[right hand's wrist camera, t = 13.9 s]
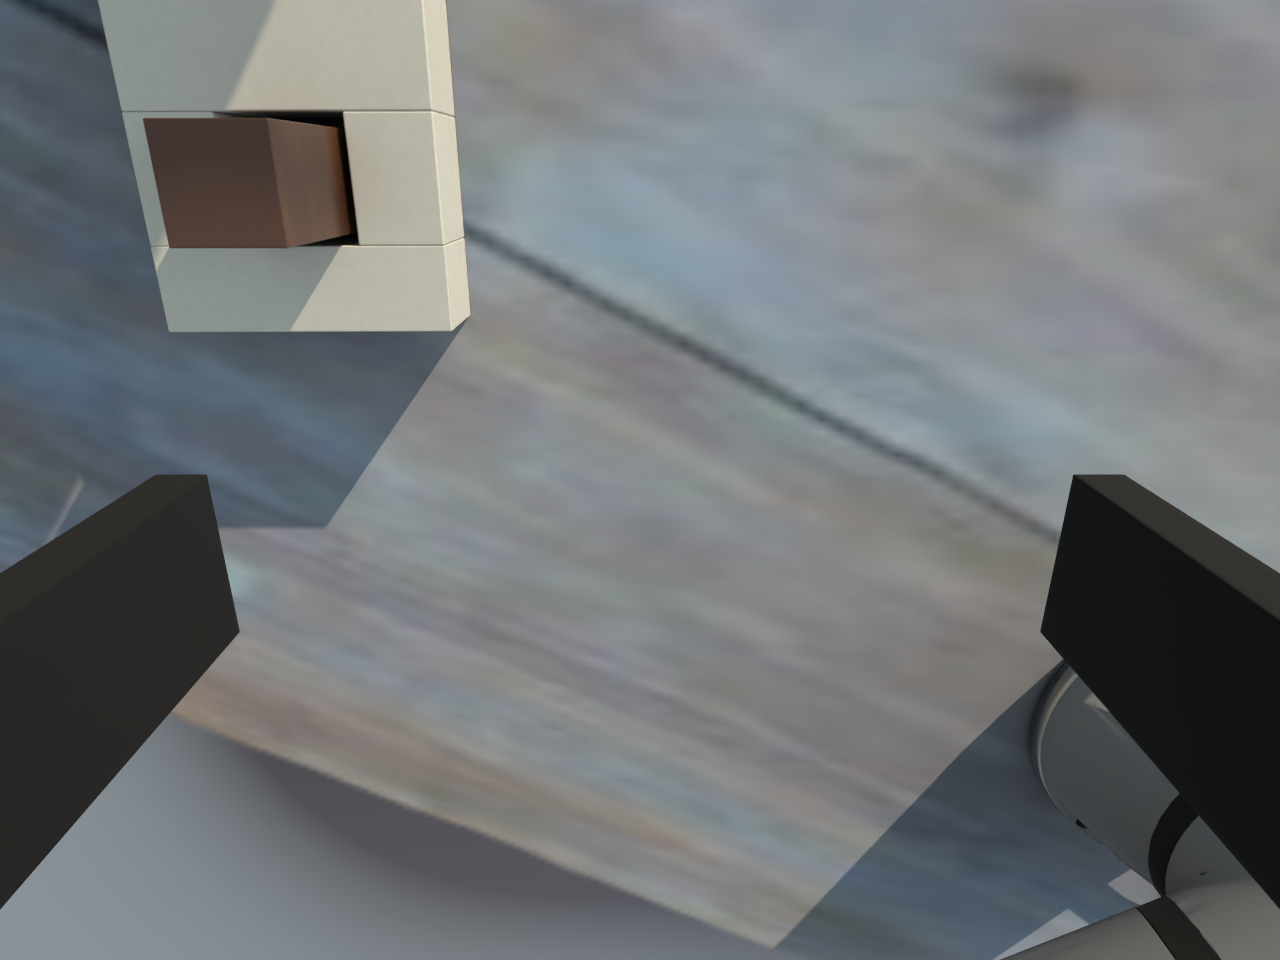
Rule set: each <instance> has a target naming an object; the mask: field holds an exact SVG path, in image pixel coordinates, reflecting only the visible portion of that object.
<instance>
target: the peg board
mask: <svg viewBox="0 0 1280 960" xmlns="http://www.w3.org/2000/svg"><path fill="white" fill-rule="evenodd" d="M98 4H99V8H100V13H101V18H102V22H103V27H104V31H105V36H106V41H107V45H108V50H109V55H110V59H111V64H112V69H113V73H114V78H115V82H116V87H117V92H118V96H119V101H120V106H121V110H122V111H124V112H122V115H123V120H124V125H125V129H126V134H127V139H128V143H129V148H130V152H131V157H132V162H133V166H134V171H135V176H136V180H137V185H138V190H139V194H140V199H141V203H142V208H143V213H144V217H145V222H146V227H147V231H148V236H149V240H150V245H151V246H152V247H151V251H152V255H153V260H154V265H155V269H156V274H157V278H158V283H159V288H160V292H161V297H162V302H163V306H164V311H165V315H166V320H167V325H168V329H169V332H406V331H452V330H454V329H455V328H456V327H457V326H458V325H459V324H461V323H462V322H463V321H464V320H465V319H466V318H467V317H469V316H470V304H469V292H468V279H467V266H466V253H465V241H464V238H463V237H464V230H463V217H462V205H461V192H460V179H459V167H458V154H457V141H456V128H455V119H454V117H453V116H454V103H453V90H452V77H451V65H450V52H449V39H448V27H447V14H446V1H445V0H98ZM256 117H343V120H344V128H345V136H346V144H347V152H348V160H349V168H350V176H351V184H352V192H353V200H354V208H355V216H356V224H357V232H358V238H331V239H326V240H322V241H317V242H313V243H308V244H304V245H300V246H295V247H291V248H169V244H168V240H167V235H166V230H165V225H164V220H163V215H162V210H161V205H160V201H159V196H158V191H157V186H156V181H155V176H154V171H153V167H152V162H151V157H150V152H149V147H148V142H147V137H146V132H145V128H144V123H143V118H256Z"/></svg>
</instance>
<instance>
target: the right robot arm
mask: <svg viewBox="0 0 1280 960" xmlns="http://www.w3.org/2000/svg"><path fill="white" fill-rule="evenodd" d="M239 632H240V631H239V626H238V621H237V617H236V612H235V607H234V602H233V598H232V593H231V588H230V583H229V579H228V574H227V569H226V564H225V560H224V555H223V550H222V545H221V541H220V536H219V531H218V526H217V522H216V517H215V512H214V507H213V503H212V498H211V493H210V488H209V484H208V479H207V475H155V476H153V477H152V478H150V479H148V480H147V481H145V482H144V483H142V484H141V485H139V486H137V487H136V488H134V489H133V490H131V491H129V492H128V493H126V494H125V495H123V496H122V497H120V498H118V499H117V500H115V501H114V502H112V503H111V504H109V505H107V506H106V507H104V508H103V509H101V510H100V511H98V512H96V513H95V514H93V515H92V516H90V517H89V518H87V519H85V520H84V521H82V522H81V523H79V524H77V525H76V526H74V527H73V528H71V529H70V530H68V531H66V532H65V533H63V534H62V535H60V536H59V537H57V538H55V539H54V540H52V541H51V542H49V543H48V544H46V545H44V546H43V547H41V548H40V549H38V550H36V551H35V552H33V553H32V554H30V555H29V556H27V557H25V558H24V559H22V560H21V561H19V562H18V563H16V564H14V565H13V566H11V567H10V568H8V569H7V570H5V571H3V572H2V573H0V909H1V908H2V907H3V905H4V904H5V903H6V902H7V901H8V900H9V899H10V897H11V896H12V895H13V894H14V893H15V892H16V890H17V889H18V888H19V887H20V886H21V885H22V884H23V882H24V881H25V880H26V879H27V878H28V877H29V875H30V874H31V873H32V872H33V871H34V870H35V868H36V867H37V866H38V865H39V864H40V863H41V861H42V860H43V859H44V858H45V857H46V856H47V855H48V853H49V852H50V851H51V850H52V849H53V848H54V846H55V845H56V844H57V843H58V842H59V841H60V839H61V838H62V837H63V836H64V835H65V834H66V833H67V831H68V830H69V829H70V828H71V827H72V826H73V824H74V823H75V822H76V821H77V820H78V819H79V817H80V816H81V815H82V814H83V813H84V812H85V810H86V809H87V808H88V807H89V806H90V805H91V804H92V802H93V801H94V800H95V799H96V798H97V797H98V795H99V794H100V793H101V792H102V791H103V790H104V788H105V787H106V786H107V785H108V784H109V783H110V781H111V780H112V779H113V778H114V777H115V776H116V774H117V773H118V772H119V771H120V770H121V769H122V768H123V766H124V765H125V764H126V763H127V762H128V761H129V759H130V758H131V757H132V756H133V755H134V754H135V753H136V751H137V750H138V749H139V748H140V747H141V746H142V744H143V743H144V742H145V741H146V740H147V739H148V737H149V736H150V735H151V734H152V733H153V732H154V731H155V729H156V728H157V727H158V726H159V725H160V724H161V722H162V721H163V720H164V719H165V718H166V717H167V715H168V714H169V713H170V712H171V711H172V710H173V708H174V707H175V706H176V705H177V704H178V703H179V702H180V700H181V699H182V698H183V697H184V696H185V695H186V693H187V692H188V691H189V690H190V689H191V688H192V686H193V685H194V684H195V683H196V682H197V681H198V680H199V678H200V677H201V676H202V675H203V674H204V673H205V671H206V670H207V669H208V668H209V667H210V666H211V664H212V663H213V662H214V661H215V660H216V659H217V657H218V656H219V655H220V654H221V653H222V652H223V651H224V649H225V648H226V647H227V646H228V645H229V644H230V642H231V641H232V640H233V639H234V638H235V637H236V635H237V634H238V633H239ZM1040 632H1041V633H1042V634H1043V635H1044V637H1045V638H1046V639H1047V640H1048V641H1049V642H1050V644H1051V645H1052V646H1053V647H1054V648H1055V649H1056V651H1057V652H1058V653H1059V654H1060V655H1061V656H1062V657H1063V659H1064V660H1065V661H1066V663H1065V664H1064V665H1063V666H1062V667H1061V668H1060V670H1059V671H1058V672H1057V673H1056V675H1055V676H1054V677H1053V678H1052V680H1051V681H1050V683H1049V684H1048V686H1047V687H1046V689H1045V690H1044V692H1043V694H1042V696H1041V698H1040V700H1039V702H1038V704H1037V707H1036V709H1035V712H1034V715H1033V719H1032V723H1031V729H1030V739H1029V746H1030V756H1031V760H1032V764H1033V767H1034V770H1035V773H1036V775H1037V777H1038V778H1039V780H1040V782H1041V784H1042V785H1043V787H1044V788H1045V790H1046V791H1047V793H1048V795H1049V796H1050V798H1051V799H1052V800H1053V802H1054V803H1055V805H1056V806H1057V807H1058V808H1059V809H1060V810H1061V811H1062V812H1063V814H1064V815H1065V816H1066V817H1067V818H1068V819H1069V820H1070V821H1071V822H1072V823H1073V824H1074V825H1075V826H1076V827H1077V828H1079V829H1080V830H1081V831H1082V832H1084V833H1085V834H1086V835H1088V836H1089V837H1091V838H1092V839H1094V840H1096V841H1098V842H1099V843H1102V844H1104V845H1106V846H1107V847H1108V848H1109V849H1110V850H1111V851H1112V852H1113V853H1114V854H1115V855H1116V856H1117V857H1118V858H1119V859H1120V860H1121V861H1122V862H1124V863H1125V864H1126V865H1127V866H1129V867H1130V868H1131V869H1132V870H1134V871H1135V872H1136V873H1138V874H1139V875H1140V876H1141V877H1143V878H1144V879H1145V880H1147V881H1148V882H1149V883H1151V884H1152V885H1153V886H1154V888H1155V889H1156V890H1157V892H1158V893H1159V894H1160V896H1161V898H1158V899H1156V900H1153V901H1151V902H1148V903H1146V904H1143V905H1141V906H1138V907H1134V908H1131V909H1129V910H1126V911H1124V912H1121V913H1119V914H1116V915H1113V916H1111V917H1108V918H1106V919H1103V920H1101V921H1098V922H1096V923H1093V924H1090V925H1088V926H1085V927H1083V928H1080V929H1078V930H1075V931H1072V932H1070V933H1067V934H1065V935H1062V936H1060V937H1057V938H1055V939H1052V940H1049V941H1047V942H1044V943H1042V944H1039V945H1037V946H1034V947H1031V948H1029V949H1026V950H1024V951H1021V952H1019V953H1016V954H1014V955H1011V956H1008V957H1006V958H1003V959H1001V960H1280V573H1278V572H1277V571H1275V570H1273V569H1272V568H1270V567H1269V566H1267V565H1266V564H1264V563H1262V562H1261V561H1259V560H1258V559H1256V558H1255V557H1253V556H1251V555H1250V554H1248V553H1247V552H1245V551H1244V550H1242V549H1240V548H1239V547H1237V546H1236V545H1234V544H1232V543H1231V542H1229V541H1228V540H1226V539H1225V538H1223V537H1221V536H1220V535H1218V534H1217V533H1215V532H1214V531H1212V530H1210V529H1209V528H1207V527H1206V526H1204V525H1203V524H1201V523H1199V522H1198V521H1196V520H1195V519H1193V518H1191V517H1190V516H1188V515H1187V514H1185V513H1184V512H1182V511H1180V510H1179V509H1177V508H1176V507H1174V506H1173V505H1171V504H1169V503H1168V502H1166V501H1165V500H1163V499H1162V498H1160V497H1158V496H1157V495H1155V494H1154V493H1152V492H1151V491H1149V490H1147V489H1146V488H1144V487H1143V486H1141V485H1139V484H1138V483H1136V482H1135V481H1133V480H1132V479H1130V478H1128V477H1127V476H1125V475H1073V479H1072V484H1071V488H1070V493H1069V498H1068V503H1067V507H1066V512H1065V517H1064V522H1063V526H1062V531H1061V536H1060V541H1059V545H1058V550H1057V555H1056V560H1055V564H1054V569H1053V574H1052V579H1051V583H1050V588H1049V593H1048V598H1047V602H1046V607H1045V612H1044V617H1043V621H1042V626H1041V631H1040Z"/></svg>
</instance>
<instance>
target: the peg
mask: <svg viewBox="0 0 1280 960" xmlns="http://www.w3.org/2000/svg"><path fill="white" fill-rule="evenodd" d="M143 123H144V128H145V132H146V137H147V142H148V147H149V152H150V157H151V162H152V167H153V171H154V176H155V181H156V186H157V191H158V196H159V201H160V205H161V210H162V215H163V220H164V225H165V230H166V235H167V240H168V244H169V248H291V247H295V246H300V245H304V244H308V243H313V242H317V241H322V240H326V239H331V238H335V237H340V236H344V235H349V234H353V233H357V224H356V216H355V208H354V200H353V192H352V184H351V176H350V168H349V160H348V152H347V144H346V136H345V129H344V128H337V127H329V126H322V125H315V124H308V123H300V122H293V121H286V120H278V119H271V118H143Z"/></svg>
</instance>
